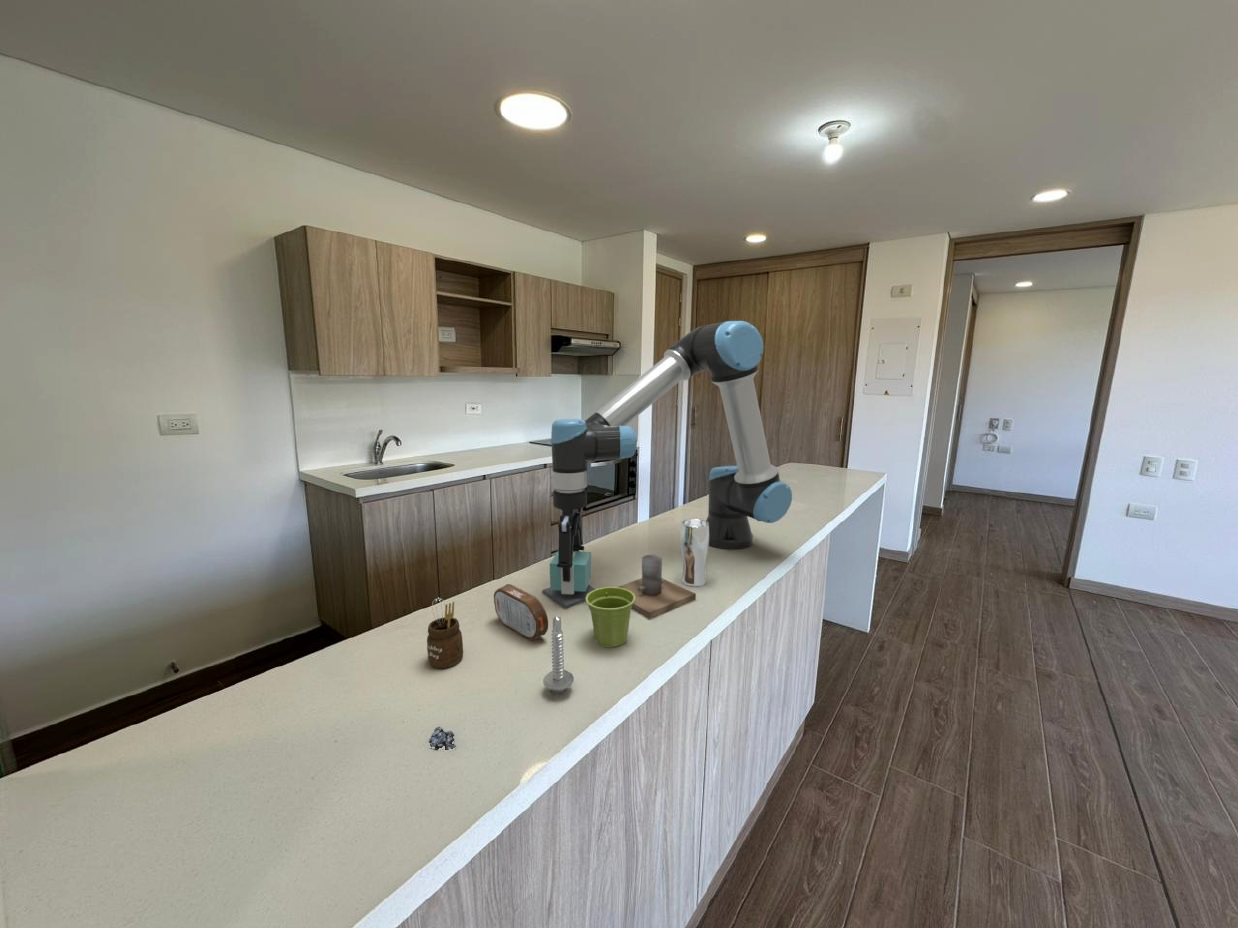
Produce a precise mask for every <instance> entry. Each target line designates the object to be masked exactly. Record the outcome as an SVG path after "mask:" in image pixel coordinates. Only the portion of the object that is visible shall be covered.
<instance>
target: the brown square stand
mask: <svg viewBox="0 0 1238 928" xmlns="http://www.w3.org/2000/svg"><path fill="white" fill-rule="evenodd" d="M662 562H663V558H662V557H661V556H660V555H658V554H646V555H643V556H642V557H641V578H638V579H636V580H633V581H630V582H627V583H625V584H621V585H619V586H617V587H619V588H624V589H627V590H629V591H631V592H632V593H633V594H634V595H635V602H634V603H633V605H632V609H631V611H632V610H633V611H634V612H636V613H638V614H640V615H642V616H643V617H644V618H647V619H648V620H652V619H654V618H656V617H658V616H660V615H663V614H667V613H668V612H670V611H672V610H675V609H677V608H679V607H682V606H684V605H687V604H690V603H691V602H693V601H696V600H697V597H696V596H697V594H696V592H693V591H691V590H689V589H686V588H684V587H683V586H680V585H678V584H677V583H673V582H671V581H669V580H667V579H665V578H664V577H662V570H663V568H662V567H663V563H662Z"/></svg>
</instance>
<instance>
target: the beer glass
mask: <svg viewBox="0 0 1238 928" xmlns="http://www.w3.org/2000/svg"><path fill="white" fill-rule="evenodd" d="M679 537H680V538H679V539H680V540H679V541H680V542H679V543H680V553H681V560H682V575H681V579H680V580H681V583H682V584H683V585H685V586H688V587H691V588H692V587H695V588H697V587H703V586H705V585H706V584H707V577H706V564H707V560H708V559H707V558H708V553H709V550H710V545H709V523H708V522H707V521H706V520H704V519H699V518H688V519H684V520H682V521H681V527H680V536H679Z"/></svg>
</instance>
